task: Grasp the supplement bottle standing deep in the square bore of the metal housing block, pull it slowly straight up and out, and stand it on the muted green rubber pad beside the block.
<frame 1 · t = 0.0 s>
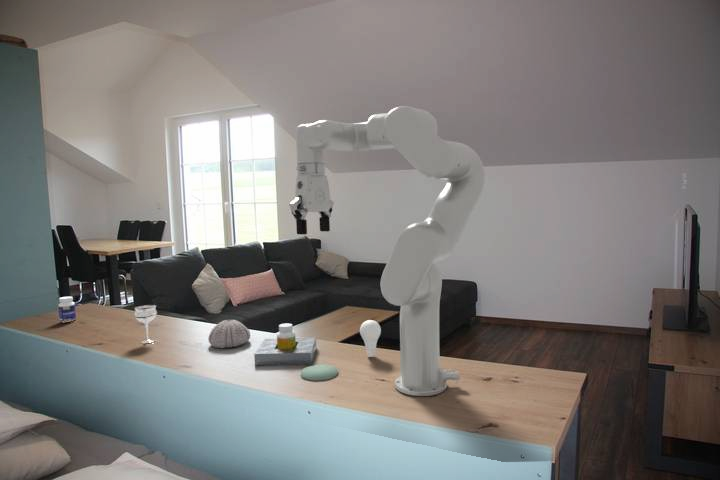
hand: (313, 232, 134), 37 cm above the table, fingers open, 9 cm apart
pad: (319, 373, 129), on the table
wineglass: (148, 342, 162), on the table
supplement bottle: (287, 357, 143), resting in housing
lightbulb: (371, 357, 141), on the table
sea urchin shell: (230, 344, 158), on the table
pill bottle: (68, 322, 193), on the table
housing: (287, 356, 143), on the table
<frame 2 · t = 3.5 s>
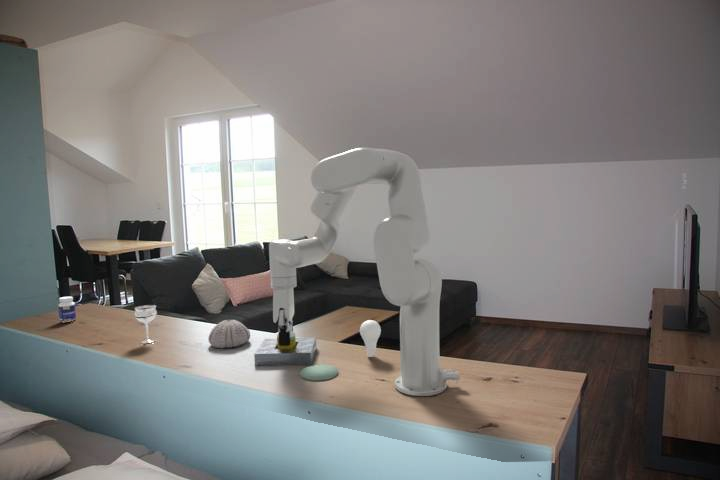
hand: (286, 341, 143), 5 cm above the table, fingers closed on supplement bottle, 5 cm apart
supplement bottle: (287, 357, 143), resting in housing, touching gripper
everything else where it was.
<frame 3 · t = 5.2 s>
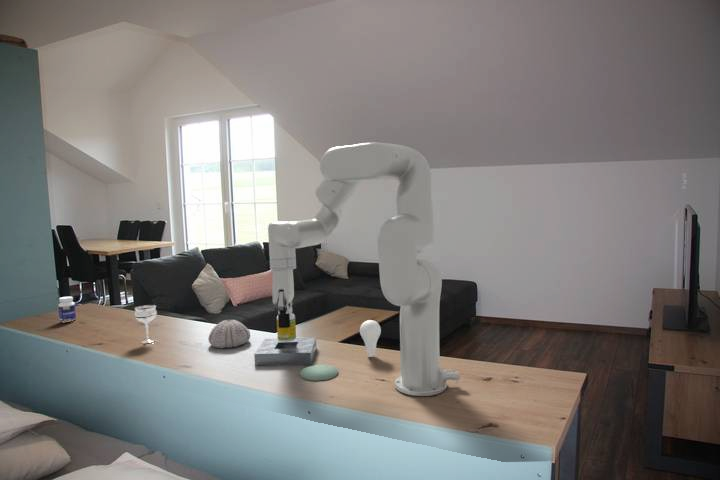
hand: (286, 323, 142), 10 cm above the table, fingers closed on supplement bottle, 5 cm apart
supplement bottle: (286, 340, 143), point 5 cm above the table, touching gripper
everything else where it was.
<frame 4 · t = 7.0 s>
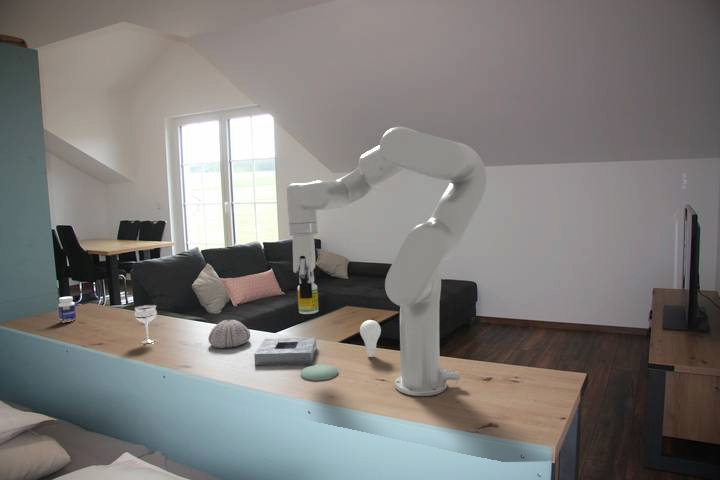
hand: (307, 295, 131), 21 cm above the table, fingers closed on supplement bottle, 5 cm apart
supplement bottle: (308, 312, 131), point 16 cm above the table, touching gripper
everything else where it was.
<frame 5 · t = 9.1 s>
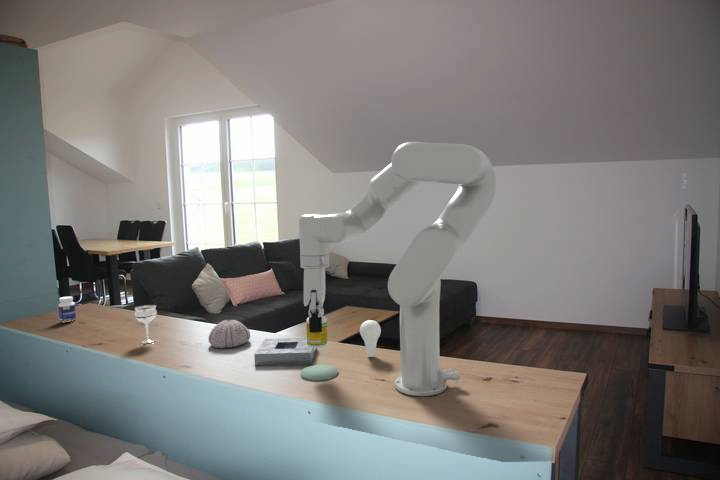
hand: (316, 327, 128), 13 cm above the table, fingers closed on supplement bottle, 5 cm apart
supplement bottle: (317, 345, 128), point 8 cm above the table, touching gripper
everything else where it was.
when the fingers open (7 cm above the table, at t = 10.6 s): supplement bottle drops 1 cm, resting on pad.
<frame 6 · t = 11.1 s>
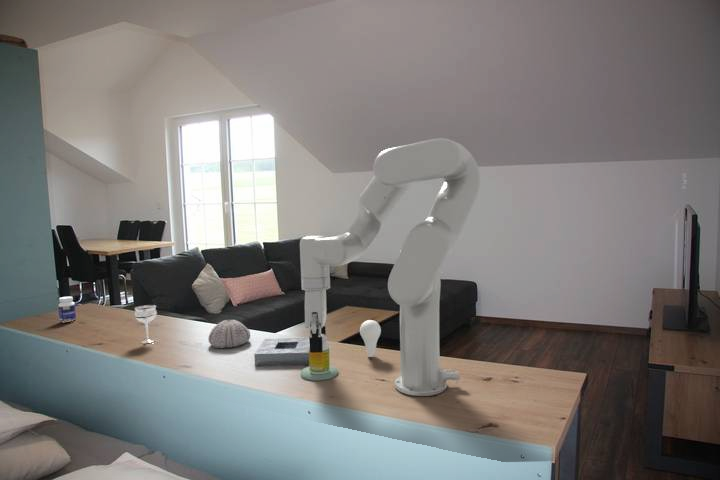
hand: (318, 346, 128), 8 cm above the table, fingers open, 9 cm apart
supplement bottle: (319, 371, 129), resting on pad
everything else where it was.
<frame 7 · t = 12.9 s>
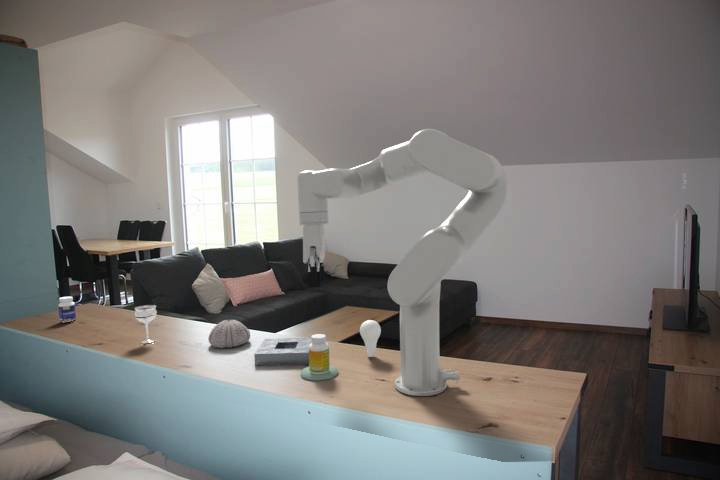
hand: (316, 283, 127), 24 cm above the table, fingers open, 9 cm apart
nothing on the table moved.
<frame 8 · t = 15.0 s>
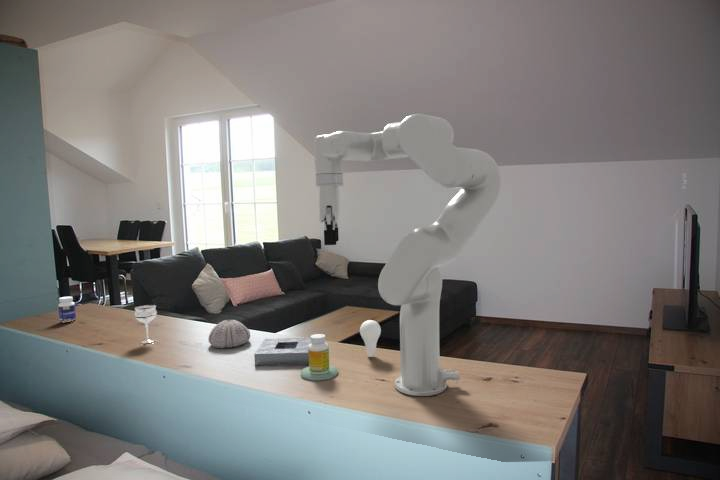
hand: (331, 243, 134), 34 cm above the table, fingers open, 9 cm apart
nothing on the table moved.
at the end: supplement bottle 0.1 cm off-centre on the pad, point 0.4 cm above the pad's base; supplement bottle tilted 1°; the gripper is holding nothing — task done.
